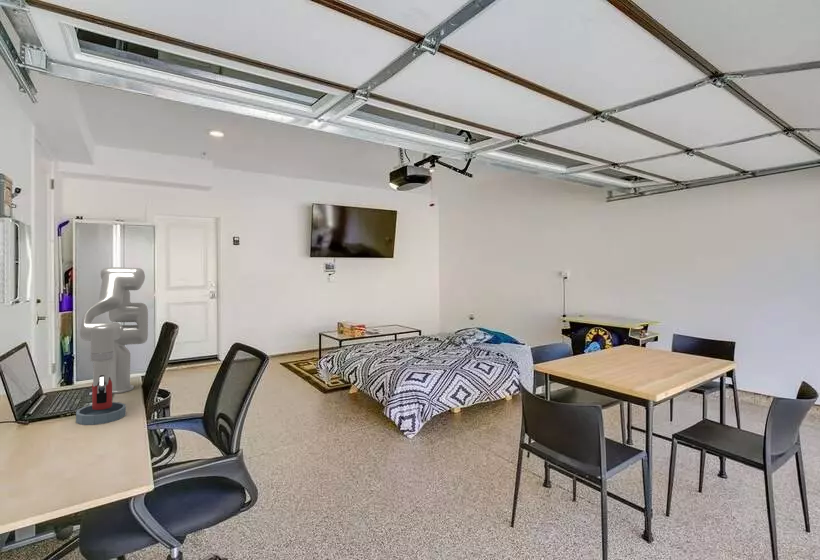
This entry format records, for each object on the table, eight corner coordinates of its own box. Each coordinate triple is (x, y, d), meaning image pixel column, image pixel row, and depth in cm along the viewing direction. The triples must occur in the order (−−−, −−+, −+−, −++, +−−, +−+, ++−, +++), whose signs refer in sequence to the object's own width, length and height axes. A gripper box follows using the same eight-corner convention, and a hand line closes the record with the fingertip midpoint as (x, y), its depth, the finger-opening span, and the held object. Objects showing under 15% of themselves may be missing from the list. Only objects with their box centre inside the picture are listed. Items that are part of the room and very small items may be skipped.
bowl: (77, 414, 172) (77, 406, 172) (124, 408, 181) (125, 400, 181) (74, 427, 159) (74, 418, 159) (126, 419, 168) (126, 411, 168)
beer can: (116, 406, 173) (116, 377, 173) (103, 411, 167) (102, 381, 166) (101, 405, 174) (101, 376, 173) (87, 410, 167) (87, 380, 167)
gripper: (91, 353, 174) (90, 396, 175) (89, 361, 160) (89, 408, 161) (113, 351, 179) (113, 393, 179) (113, 359, 165) (113, 405, 165)
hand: (101, 399), depth 170 cm, fingers closed on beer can, 6 cm apart
